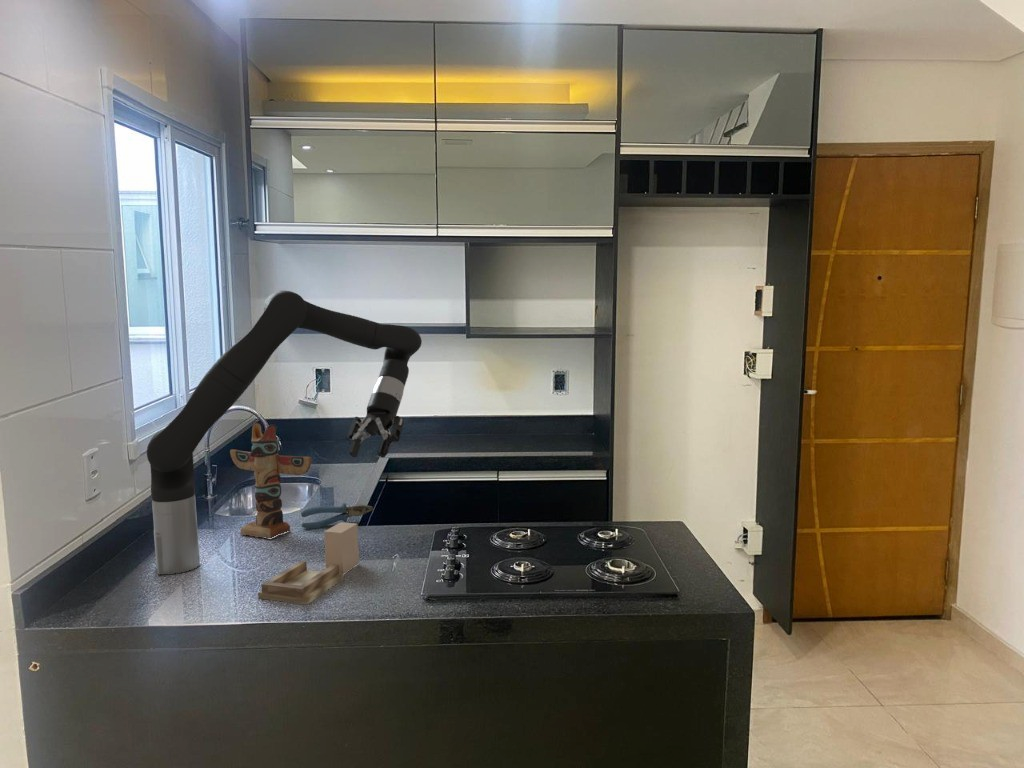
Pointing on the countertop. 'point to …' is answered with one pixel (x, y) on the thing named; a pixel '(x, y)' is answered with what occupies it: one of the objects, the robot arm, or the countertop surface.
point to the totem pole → (268, 480)
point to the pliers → (352, 511)
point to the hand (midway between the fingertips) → (366, 456)
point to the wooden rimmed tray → (300, 584)
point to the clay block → (342, 546)
